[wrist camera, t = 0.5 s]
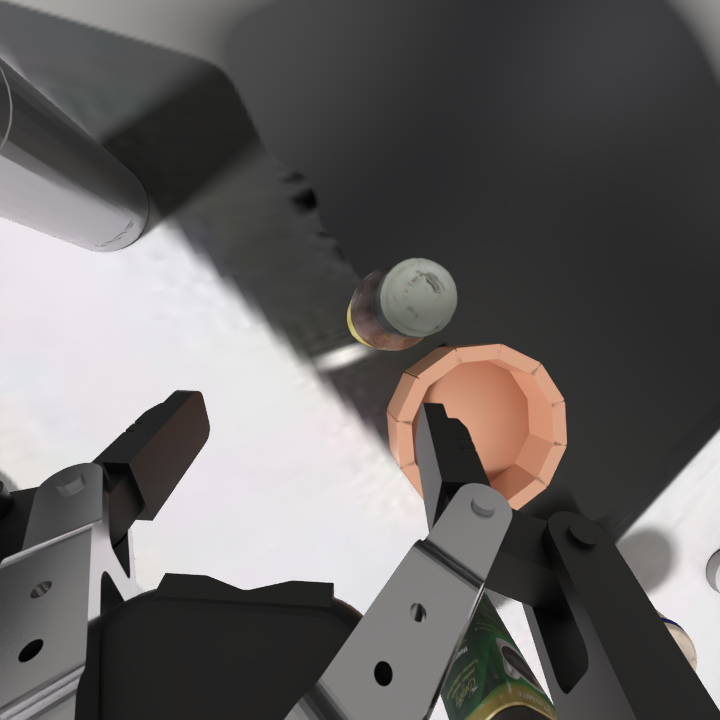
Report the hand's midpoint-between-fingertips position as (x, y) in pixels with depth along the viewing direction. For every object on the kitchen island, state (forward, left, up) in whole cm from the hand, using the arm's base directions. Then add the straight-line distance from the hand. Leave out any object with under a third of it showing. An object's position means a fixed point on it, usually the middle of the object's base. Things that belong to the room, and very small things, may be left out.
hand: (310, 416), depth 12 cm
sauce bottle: (-1, +8, -24) cm, 25 cm away
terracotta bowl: (+15, +10, -24) cm, 30 cm away
